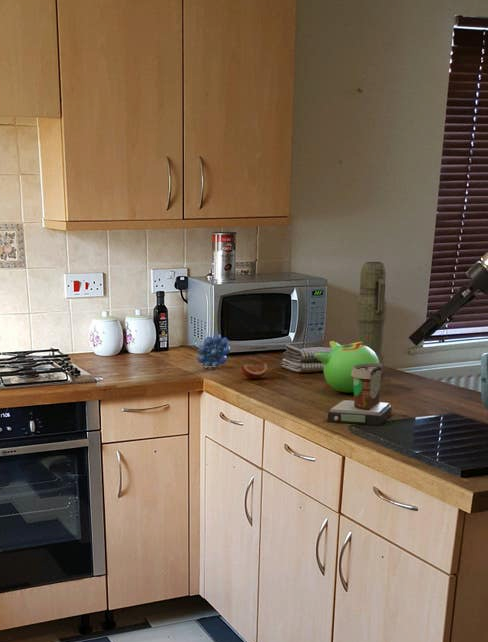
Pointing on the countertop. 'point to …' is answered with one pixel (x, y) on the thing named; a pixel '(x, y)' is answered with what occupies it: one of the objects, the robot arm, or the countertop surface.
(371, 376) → the food container
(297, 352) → the towel
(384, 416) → the kitchen scale
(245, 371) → the fruit slice
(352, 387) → the toy bird
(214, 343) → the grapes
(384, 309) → the thermos
